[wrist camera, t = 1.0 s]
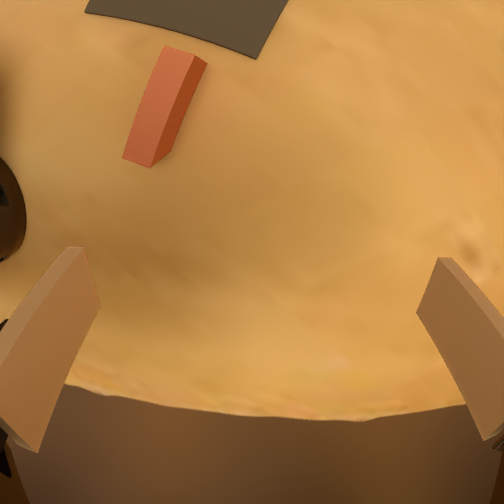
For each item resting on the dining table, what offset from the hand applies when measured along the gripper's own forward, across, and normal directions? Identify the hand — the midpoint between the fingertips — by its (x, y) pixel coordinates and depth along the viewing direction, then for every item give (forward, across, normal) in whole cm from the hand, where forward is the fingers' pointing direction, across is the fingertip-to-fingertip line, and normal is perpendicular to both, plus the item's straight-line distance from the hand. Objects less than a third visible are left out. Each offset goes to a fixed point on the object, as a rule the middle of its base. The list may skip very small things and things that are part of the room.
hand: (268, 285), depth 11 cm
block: (+20, -7, +5) cm, 22 cm away
